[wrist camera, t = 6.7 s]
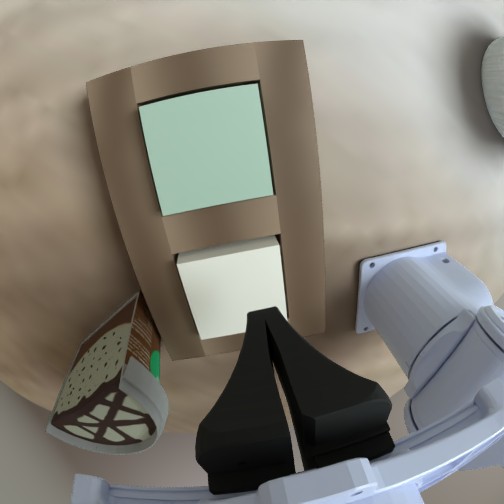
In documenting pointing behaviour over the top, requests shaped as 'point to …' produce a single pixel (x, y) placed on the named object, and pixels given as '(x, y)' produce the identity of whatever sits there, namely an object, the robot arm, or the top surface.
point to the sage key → (207, 148)
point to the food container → (114, 386)
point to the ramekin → (494, 82)
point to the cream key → (232, 283)
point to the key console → (224, 215)
